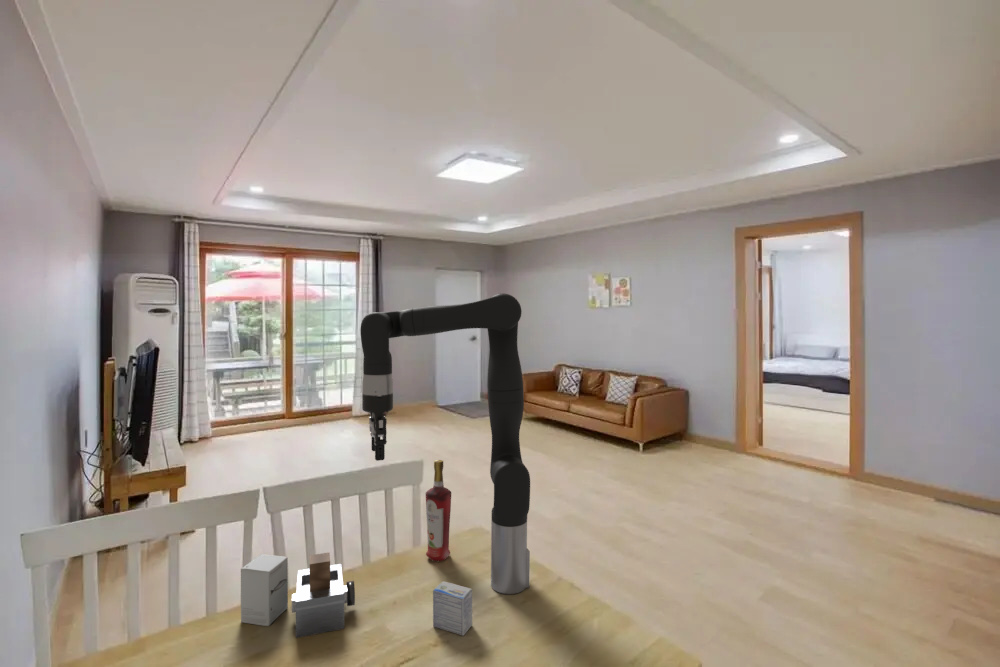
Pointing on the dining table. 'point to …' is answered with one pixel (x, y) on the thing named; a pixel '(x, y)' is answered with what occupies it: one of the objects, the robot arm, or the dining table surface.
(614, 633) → the dining table surface
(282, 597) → the supplement box
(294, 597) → the shaft
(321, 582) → the block
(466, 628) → the medicine box
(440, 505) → the liquor
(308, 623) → the grey hollow block
